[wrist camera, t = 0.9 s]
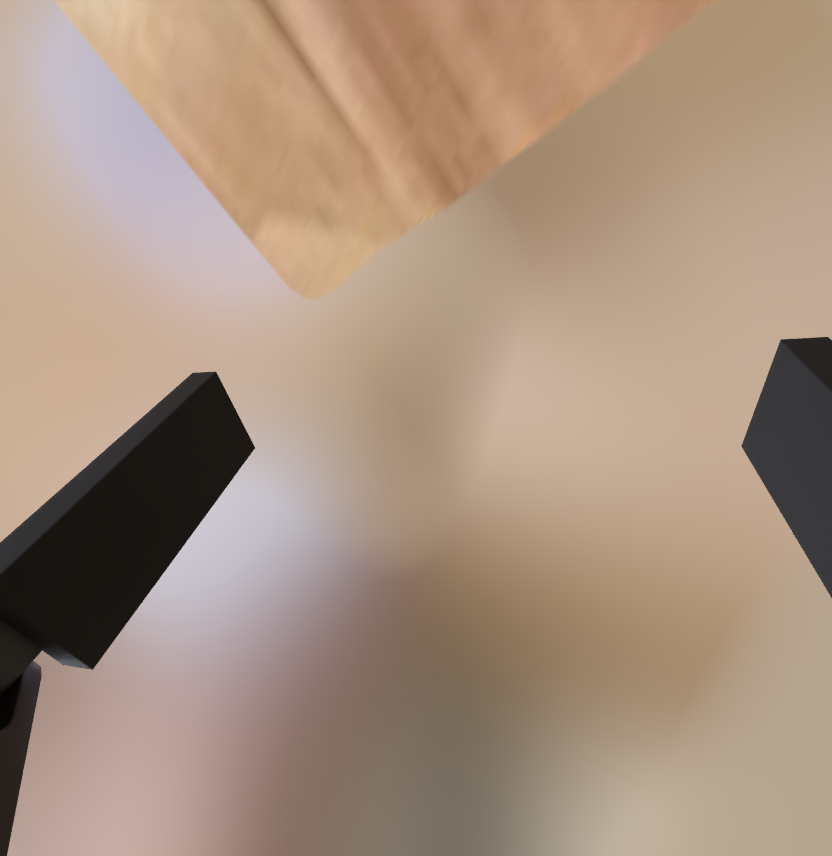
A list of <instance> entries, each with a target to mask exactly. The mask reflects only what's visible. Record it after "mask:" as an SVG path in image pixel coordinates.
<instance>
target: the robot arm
mask: <svg viewBox="0 0 832 856" xmlns="http://www.w3.org/2000/svg"><path fill="white" fill-rule="evenodd" d="M742 448H743V449H744V451H745V453H746V455H747V456H748V458H749V460H750V461H751V463H752V465H753V466H754V468H755V469H756V471H757V473H758V475H759V476H760V478H761V480H762V481H763V483H764V485H765V486H766V488H767V490H768V492H769V493H770V495H771V496H772V498H773V500H774V502H775V503H776V505H777V507H778V508H779V510H780V512H781V513H782V515H783V517H784V518H785V520H786V522H787V523H788V525H789V527H790V529H791V530H792V532H793V534H794V535H795V537H796V539H797V540H798V542H799V544H800V545H801V547H802V548H803V550H804V552H805V554H806V555H807V557H808V559H809V560H810V562H811V564H812V565H813V567H814V569H815V571H816V572H817V574H818V575H819V577H820V579H821V581H822V582H823V584H824V586H825V587H826V589H827V591H828V592H829V594H830V596H831V597H832V340H831V339H829V338H828V337H819V338H802V339H785V340H781V341H780V343H779V346H778V349H777V351H776V354H775V357H774V359H773V362H772V365H771V368H770V370H769V373H768V376H767V379H766V382H765V384H764V387H763V390H762V392H761V395H760V398H759V400H758V403H757V406H756V408H755V411H754V414H753V417H752V419H751V422H750V425H749V428H748V430H747V433H746V436H745V438H744V441H743V444H742ZM254 449H255V447H254V445H253V443H252V441H251V439H250V437H249V435H248V433H247V431H246V429H245V428H244V426H243V424H242V421H241V419H240V418H239V416H238V414H237V412H236V410H235V408H234V406H233V404H232V402H231V400H230V398H229V396H228V394H227V392H226V390H225V388H224V387H223V385H222V382H221V381H220V379H219V377H218V375H217V373H216V372H202V373H192V374H191V375H190V376H189V377H188V378H186V380H184V381H183V382H182V383H181V384H180V385H179V386H177V387H176V388H175V389H174V390H173V391H172V392H171V393H170V394H168V395H167V396H166V397H165V398H164V399H163V400H162V401H160V402H159V403H158V404H157V405H156V406H155V407H154V408H152V409H151V410H150V411H149V412H148V413H147V414H146V415H145V416H143V417H142V418H141V419H140V420H139V421H138V422H137V423H136V424H134V425H133V426H132V427H131V428H130V429H129V430H128V431H126V432H125V433H124V434H123V435H122V436H121V437H120V438H118V439H117V440H116V441H115V442H114V443H113V444H112V445H111V446H109V447H108V448H107V449H106V450H105V451H104V452H103V453H102V454H100V455H99V456H98V457H97V458H96V459H95V460H93V461H92V462H91V463H90V464H89V465H88V466H87V467H86V468H84V469H83V470H82V471H81V472H80V473H79V474H78V475H77V476H75V477H74V478H73V479H72V480H71V481H70V482H69V483H67V484H66V485H65V486H64V487H63V488H62V489H61V490H60V491H58V492H57V493H56V494H55V495H54V496H53V497H52V498H50V499H49V500H48V501H47V502H46V503H45V504H44V505H42V506H41V507H40V508H39V509H38V510H37V511H36V512H35V513H33V514H32V515H31V516H30V517H29V518H28V519H27V520H25V521H24V522H23V523H22V524H21V525H20V526H19V527H18V528H16V529H15V530H14V531H13V532H12V533H11V534H10V535H8V537H6V538H5V539H4V540H3V541H2V542H1V543H0V856H7V852H8V847H9V842H10V837H11V832H12V826H13V821H14V816H15V810H16V806H17V800H18V795H19V789H20V785H21V780H22V774H23V769H24V764H25V759H26V754H27V749H28V743H29V738H30V733H31V728H32V723H33V718H34V712H35V707H36V702H37V697H38V692H39V686H40V681H41V667H40V666H39V665H38V664H37V663H36V662H34V661H33V660H34V659H35V658H36V657H37V655H38V654H39V653H40V652H41V651H42V650H43V651H44V652H46V653H47V654H48V655H50V656H51V657H53V658H54V659H56V660H57V661H58V662H60V663H61V664H63V665H68V666H74V667H80V668H86V669H93V668H94V667H95V666H96V664H97V663H98V662H99V660H100V659H101V658H102V656H103V655H104V653H105V652H106V651H107V649H108V648H109V647H110V645H111V644H112V642H113V641H114V640H115V638H116V637H117V636H118V634H119V633H120V631H121V630H122V629H123V627H124V626H125V624H126V623H127V622H128V621H129V619H130V618H131V616H132V615H133V614H134V612H135V611H136V610H137V608H138V607H139V606H140V604H141V603H142V602H143V600H144V599H145V597H146V596H147V595H148V593H149V592H150V591H151V589H152V588H153V587H154V585H155V584H156V582H157V581H158V580H159V578H160V577H161V576H162V574H163V573H164V571H165V570H166V569H167V567H168V566H169V565H170V563H171V562H172V560H173V559H174V558H175V557H176V555H177V554H178V552H179V551H180V550H181V548H182V547H183V546H184V544H185V543H186V541H187V540H188V539H189V537H190V536H191V535H192V533H193V532H194V531H195V529H196V528H197V527H198V525H199V524H200V522H201V521H202V520H203V518H204V517H205V516H206V514H207V513H208V511H209V510H210V509H211V507H212V506H213V505H214V503H215V502H216V500H217V499H218V498H219V496H220V495H221V494H222V492H223V491H224V490H225V488H226V487H227V485H228V484H229V483H230V481H231V480H232V479H233V477H234V476H235V475H236V473H237V472H238V470H239V469H240V468H241V466H242V465H243V464H244V462H245V461H246V460H247V458H248V457H249V456H250V454H251V453H252V451H253V450H254Z"/></svg>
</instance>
